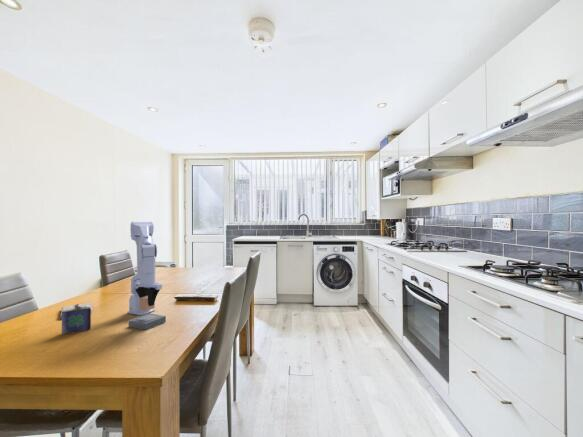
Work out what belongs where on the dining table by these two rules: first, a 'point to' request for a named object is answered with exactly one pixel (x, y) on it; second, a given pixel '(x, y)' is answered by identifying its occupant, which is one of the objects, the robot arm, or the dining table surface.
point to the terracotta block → (145, 304)
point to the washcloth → (74, 308)
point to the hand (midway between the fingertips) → (147, 304)
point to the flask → (76, 319)
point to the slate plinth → (147, 321)
